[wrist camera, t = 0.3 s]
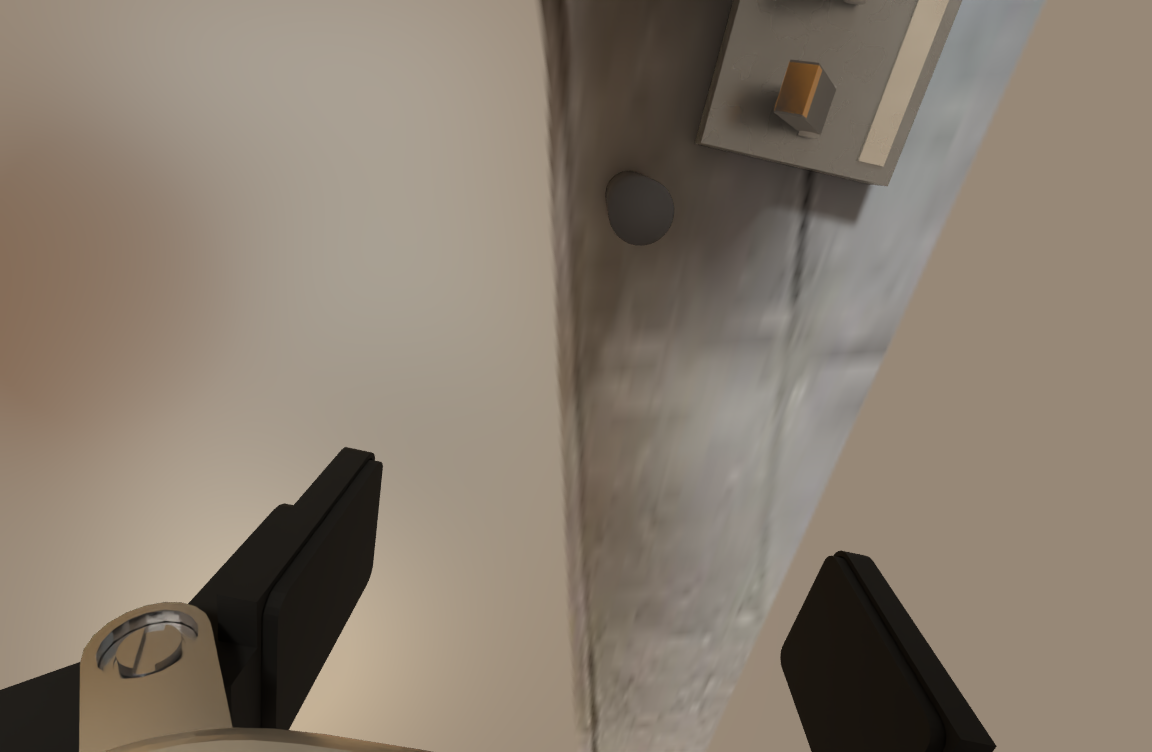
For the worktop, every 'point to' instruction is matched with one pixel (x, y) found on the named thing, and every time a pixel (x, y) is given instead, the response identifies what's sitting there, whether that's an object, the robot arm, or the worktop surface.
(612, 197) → the post
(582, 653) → the worktop surface
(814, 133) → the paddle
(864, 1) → the paddle middle
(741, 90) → the breaker board
